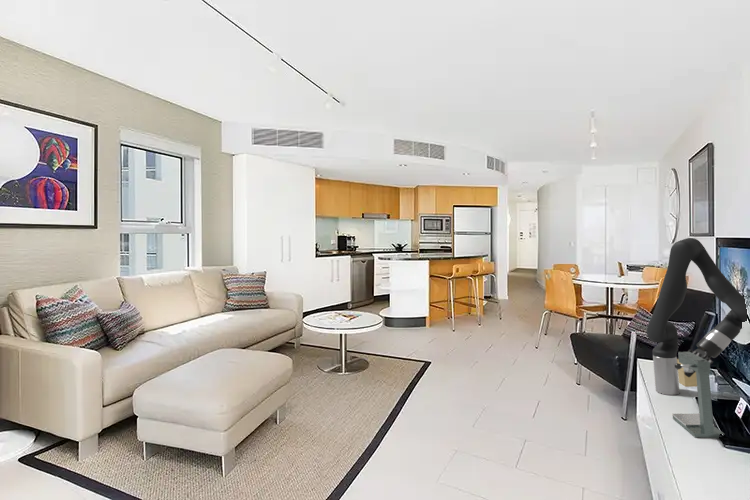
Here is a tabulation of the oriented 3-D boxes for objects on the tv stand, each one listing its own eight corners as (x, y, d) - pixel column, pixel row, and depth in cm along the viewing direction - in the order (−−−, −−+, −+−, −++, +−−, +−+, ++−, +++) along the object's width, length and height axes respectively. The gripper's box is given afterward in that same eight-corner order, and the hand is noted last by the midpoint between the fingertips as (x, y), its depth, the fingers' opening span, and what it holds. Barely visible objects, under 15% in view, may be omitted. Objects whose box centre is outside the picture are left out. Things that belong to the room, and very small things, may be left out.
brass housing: (679, 382, 171) (676, 356, 171) (692, 382, 170) (690, 356, 170) (685, 386, 167) (682, 359, 167) (699, 386, 166) (696, 359, 165)
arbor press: (662, 418, 168) (656, 350, 167) (699, 418, 165) (693, 349, 164) (683, 437, 152) (677, 362, 152) (724, 437, 149) (718, 361, 149)
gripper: (695, 333, 174) (666, 362, 176) (716, 341, 160) (684, 372, 162) (711, 345, 173) (681, 374, 175) (733, 354, 159) (700, 385, 161)
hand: (683, 373), depth 169 cm, fingers closed on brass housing, 5 cm apart
